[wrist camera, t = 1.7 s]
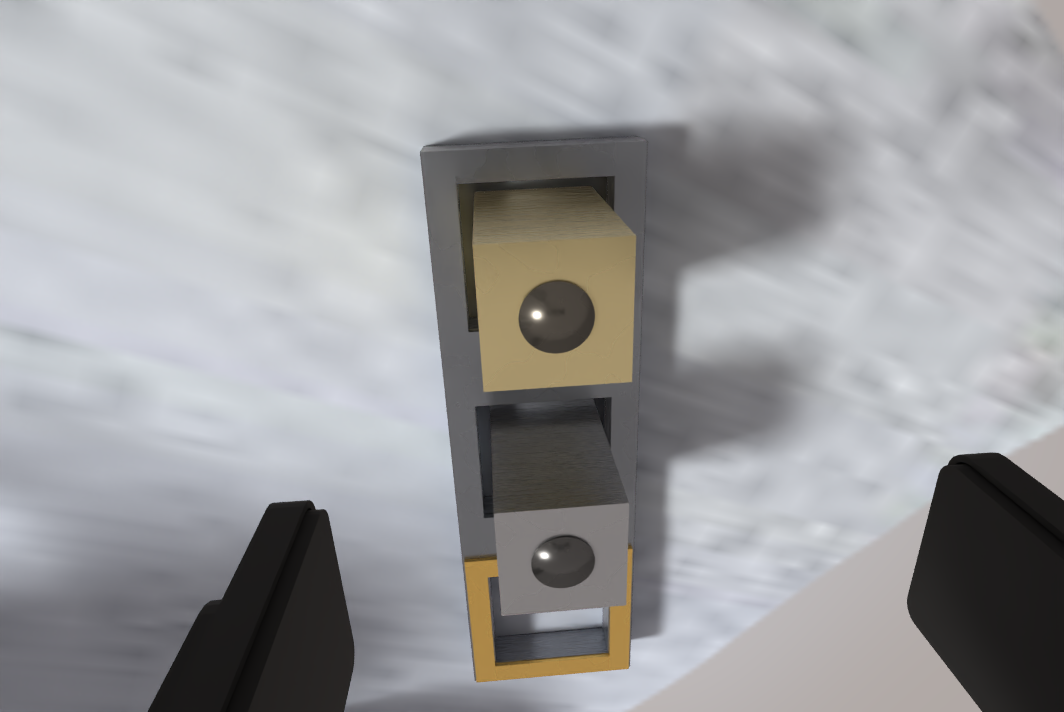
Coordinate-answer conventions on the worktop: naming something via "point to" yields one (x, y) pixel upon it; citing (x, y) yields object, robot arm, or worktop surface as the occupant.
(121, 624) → the worktop surface
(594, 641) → the grey block holder rack
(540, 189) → the wooden block with knob
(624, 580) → the grey block with knob
